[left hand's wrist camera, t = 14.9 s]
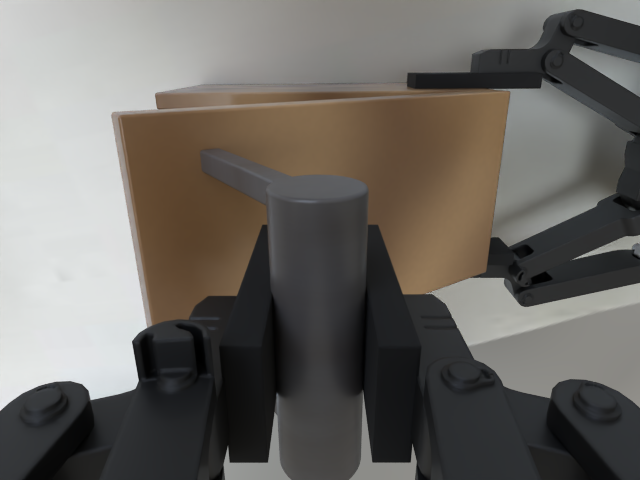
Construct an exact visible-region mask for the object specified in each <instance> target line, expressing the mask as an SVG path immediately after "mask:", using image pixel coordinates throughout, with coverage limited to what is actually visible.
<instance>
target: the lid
mask: <svg viewBox="0 0 640 480" xmlns="http://www.w3.org/2000/svg"><path fill="white" fill-rule="evenodd" d="M509 98H510V92H509V91H498V90H485V91H468V92H451V93H433V94H416V95H399V96H382V97H364V98H347V99H330V100H313V101H296V102H278V103H261V104H244V105H227V106H210V107H192V108H175V109H158V110H141V111H123V112H113V113H112V115H111V116H112V122H113V128H114V133H115V139H116V145H117V151H118V157H119V163H120V169H121V175H122V181H123V187H124V193H125V198H126V204H127V210H128V216H129V222H130V228H131V234H132V240H133V246H134V252H135V258H136V263H137V269H138V275H139V281H140V287H141V293H142V299H143V305H144V311H145V317H146V323H147V328H148V327H150V326H152V325H155V324H158V323H161V322H164V321H170V320H177V319H184V320H189V316H190V315H191V313H192V311H193V309H194V307H195V305H197V304H198V303H199V302H201V301H202V300H203V299H205V298H206V297H207V296H237V294H238V291H239V289H240V286H241V283H242V280H243V277H244V275H245V272H246V269H247V266H248V263H249V261H250V258H251V255H252V252H253V249H254V247H255V244H256V241H257V238H258V235H259V233H260V230H261V227H262V225H267V230H268V248H269V267H270V285H271V292H272V297H273V319H274V341H275V363H276V384H277V396H276V404H275V413H276V414H277V416H278V432H279V451H280V462H281V466H282V468H283V470H284V472H285V473H286V474H287V476H288V477H289V478H290V479H291V480H349V479H350V478H351V477H352V476H353V475H354V473H355V472H356V470H357V469H358V467H359V464H360V460H361V434H362V401H363V368H364V335H365V302H366V269H367V235H368V225H378V226H379V229H380V231H381V234H382V237H383V240H384V243H385V245H386V248H387V251H388V254H389V257H390V259H391V262H392V265H393V268H394V271H395V273H396V276H397V279H398V282H399V285H400V287H401V290H402V293H403V294H426V293H429V292H432V291H434V290H437V289H440V288H443V287H445V286H448V285H451V284H454V283H457V282H459V281H462V280H465V279H468V278H470V277H473V276H476V275H479V274H482V273H484V272H486V269H487V261H488V254H489V246H490V239H491V231H492V224H493V217H494V209H495V202H496V194H497V187H498V179H499V172H500V164H501V157H502V150H503V142H504V135H505V127H506V120H507V112H508V105H509Z"/></svg>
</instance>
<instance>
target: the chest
mask: <svg viewBox="0 0 640 480" xmlns="http://www.w3.org/2000/svg"><path fill="white" fill-rule="evenodd" d="M485 90H492V89H486V88H460V89H414V88H410V87H407V83H335V84H231V85H198V86H193V87H187V88H181V89H176V90H170V91H165V92H159V93H156V94H155V97H156V105H157V109H175V108H192V107H210V106H227V105H244V104H261V103H278V102H296V101H313V100H330V99H347V98H364V97H382V96H399V95H416V94H433V93H451V92H468V91H485Z"/></svg>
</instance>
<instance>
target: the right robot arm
mask: <svg viewBox="0 0 640 480" xmlns="http://www.w3.org/2000/svg"><path fill="white" fill-rule="evenodd" d="M543 31H544V32H543V34H542V36H541V38H540V40H539V42H538V43H537V44H536V45H535V46H534V47H532V48H530V49H490V50H481V51H479V52H476V53H474V54H472V62H471V71H470V72H466V73H408V76H407V87H410V88H414V89H460V88H486V89H522V88H541V82H542V79H543V80H545V81H546V82H548V83H550V84H551V85H553V86H555V87H556V88H558V89H560V90H561V91H563V92H565V93H566V94H568V95H569V96H571V97H573V98H574V99H576V100H578V101H579V102H581V103H583V104H584V105H586V106H588V107H589V108H591V109H593V110H594V111H596V112H598V113H599V114H601V115H603V116H604V117H606V118H608V119H609V120H611V121H612V122H614V123H615V125H616V126H618V127H619V128H621V129H622V130H624V131H626V132H627V133H629V134H631V135H632V136H634V139H633V141H628V142H627V146H626V150H625V168H624V170H623V172H622V174H621V176H620V178H619V181H618V185H617V189H616V192H617V193H616V194H614V195H612V196H610V197H607V198H605V199H603V200H601V201H599V202H598V204H597V206H596V207H595V208H593V209H591V210H589V211H586V212H584V213H582V214H580V215H578V216H575V217H573V218H571V219H569V220H567V221H565V222H562V223H560V224H558V225H556V226H554V227H551V228H549V229H547V230H545V231H543V232H541V233H538V234H536V235H534V236H532V237H530V238H528V239H525V240H523V241H521V242H519V243H517V244H514V245H512V246H510V247H507V246H506V245H505V244H504V243H503V242H502V241H501V239H500V238H499V237H493V238H491V239H490V246H489V254H488V261H487V269H486V272H484V273H482V274H479V275H476V276H473V278H479V277H480V278H505V280H504V285H505V287H506V288H507V289H508V290H509V292H510V293H511V294H512V295H513V297H514V298H515V299H516V300H517V302H518V303H519V304H520V305H521V306H524V307H529V306H534V305H538V304H543V303H548V302H552V301H557V300H562V299H566V298H571V297H576V296H580V295H585V294H590V293H594V292H599V291H604V290H608V289H613V288H618V287H622V286H627V285H632V284H636V283H640V244H639V243H637V244H634V245H633V247H632V250H616V251H610V252H606V253H601V254H597V255H592V256H588V257H583V258H579V259H574V258H576V257H579V256H581V255H583V254H585V253H588V252H590V251H592V250H595V249H597V248H599V247H601V246H604V245H606V244H608V243H610V242H613V241H615V240H617V239H619V238H622V237H624V236H638V235H640V97H638V96H637V95H635V94H634V93H632V92H630V91H629V90H627V89H626V88H624V87H622V86H621V85H619V84H617V83H616V82H614V81H613V80H611V79H609V78H608V77H606V76H605V75H603V74H601V73H600V72H598V71H597V70H595V69H593V68H592V67H590V66H589V65H587V64H585V63H584V62H582V61H581V60H579V59H577V58H576V57H574V56H573V55H571V54H569V52H570V50H571V48H572V46H573V45H577V46H581V47H584V48H588V49H591V50H595V51H598V52H602V53H606V54H609V55H613V56H616V57H620V58H624V59H627V60H631V61H634V62H638V63H640V26H638V25H634V24H631V23H627V22H624V21H620V20H616V19H613V18H609V17H606V16H602V15H599V14H595V13H592V12H588V11H585V10H580V9H577V10H572V11H567V12H563V13H558V14H554V15H551V16H549V17H548V18H547V19H546V21H545V22H544V26H543ZM572 259H574V260H572ZM470 278H472V277H470Z"/></svg>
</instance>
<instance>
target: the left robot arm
mask: <svg viewBox="0 0 640 480" xmlns="http://www.w3.org/2000/svg"><path fill="white" fill-rule="evenodd" d="M132 344H133V349H134V355H135V361H136V367H137V372H138V378H139V382H138V385H137V387H136V389H134V390H132V391H129V392H125V393H122V394H118V395H114V396H109V397H104V398H100V399H95V400H90V396H89V391H88V390H87V389H86V388H85V387H84V386H83V385H82V384H79V383H75V382H71V381H66V382H53V383H48V384H45V385H41V386H38V387H36V388H34V389H32V390H29V391H27V392H25V393H23V394H21V395H20V396H19V397H17V398H16V399H14V400H13V401H11V402H10V403H9V404H8V405H7V406H5V407H4V408H3V409H2V410H1V411H0V480H225V476H224V466H223V464H224V459H225V455H226V451H227V447H228V448H229V459H230V463H267V462H268V457H269V450H270V442H271V435H272V427H273V419H274V412H275V404H276V396H277V384H276V363H275V341H274V319H273V297H272V292H271V285H270V267H269V248H268V230H267V225H262V227H261V230H260V233H259V235H258V238H257V241H256V244H255V247H254V249H253V252H252V255H251V258H250V261H249V263H248V266H247V269H246V272H245V275H244V277H243V280H242V283H241V286H240V289H239V291H238V294H237V296H207V297H206V298H205V299H203V300H202V301H201V302H199V303H198V304H197V305H195V307H194V309H193V311H192V313H191V315H190V316H189V320H184V319H177V320H170V321H164V322H161V323H158V324H155V325H152V326H150V327H148V328H146V329H145V330H143V331H142V332H140V333H139V334H138V335H137V336H136V337H135V338H134V340H133V341H132ZM363 393H364V401H365V409H366V416H367V424H368V431H369V439H370V447H371V455H372V462H411V452H412V443H413V447H414V451H415V455H416V460H417V466H416V476H415V480H640V408H639V407H638V406H637V405H636V404H635V403H633V402H632V401H631V400H630V399H628V398H627V397H625V396H624V395H623V394H621V393H620V392H618V391H616V390H614V389H612V388H609V387H607V386H605V385H603V384H600V383H597V382H592V381H588V380H575V379H570V380H566V381H562V382H559V383H558V384H557V385H556V386H555V387H554V388H553V389H552V393H551V398H545V397H541V396H536V395H531V394H527V393H522V392H518V391H515V390H511V389H509V388H506V387H504V386H503V384H502V381H501V380H500V378H499V377H498V375H497V374H496V372H495V371H494V370H492V369H491V368H489V367H488V366H487V365H485V364H484V363H481V362H479V361H476V360H474V358H473V356H472V354H471V352H470V351H469V348H468V347H467V345H466V343H465V341H464V339H463V337H462V335H461V333H460V331H459V329H458V328H457V325H456V323H455V321H454V320H453V318H452V316H451V314H450V312H449V310H448V308H447V306H446V304H444V303H443V302H442V301H440V300H439V299H438V298H436V297H435V296H434V295H432V294H403V293H402V290H401V287H400V285H399V282H398V279H397V276H396V273H395V271H394V268H393V265H392V262H391V259H390V257H389V254H388V251H387V248H386V245H385V243H384V240H383V237H382V234H381V231H380V229H379V226H378V225H368V235H367V269H366V302H365V335H364V368H363Z"/></svg>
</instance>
